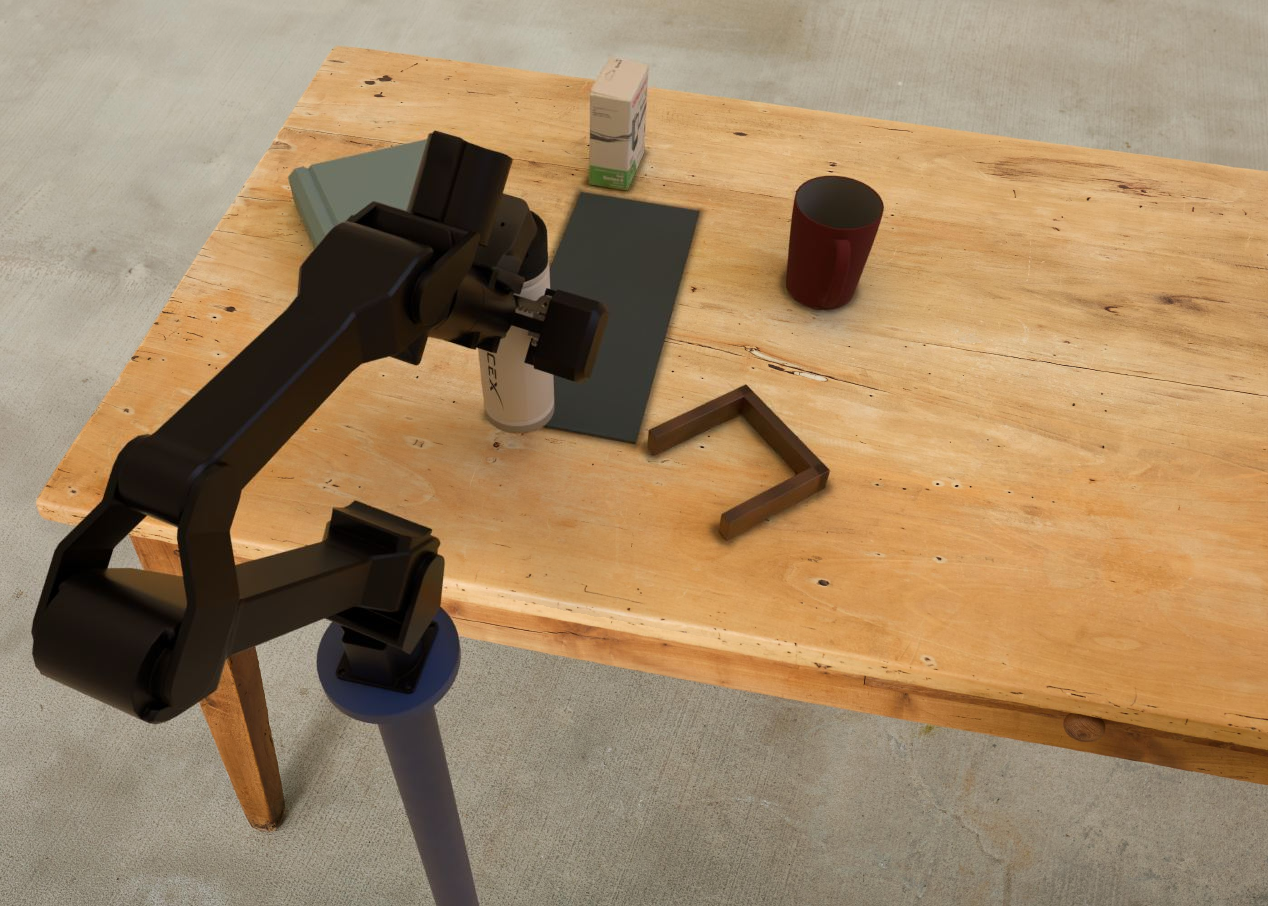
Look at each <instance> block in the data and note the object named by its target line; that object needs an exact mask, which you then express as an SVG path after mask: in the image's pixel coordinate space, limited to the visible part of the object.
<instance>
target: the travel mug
mask: <svg viewBox="0 0 1268 906" xmlns="http://www.w3.org/2000/svg"><path fill="white" fill-rule="evenodd" d="M530 211H531V214H532V216H533V219H534V221H535V224H536V226H537V233H536V235H535V238H534V239H533V240H532V242H531V244H530V246H529V248H528V251H527V253H526V255H525V257H524V260H523V262H522V264H521V266H520V269H519V272H518V275H519V276H521V277H524V278H525V280H524V284H523V287H522V291H521V293H520V294H516V293H514V295H517V296H520V297H523V298H527V299H530V300H533V301H536V300H538V299H539V298H540V297H541V296H543V295H544V294H545V290H546V288H549V289H550V272H549V269H550V257H549V243H548V242H549V241H548V240H549V239H548V238H549V237H548V228H547V225H546V223H545V221H544V220H543V218H542V217H541V216H540V215H538V214H537V213H536V212H535V211H533V210H531V209H530ZM516 313H519V314H522V315H525V316H528V317H532V318H533V314H532V312H531V313H528V310H527V311H526V312H523V309H522V310H521V311H520V310H518V307H517V309H516ZM537 313H539V312H537ZM528 332H529V331H528V330H525V329H521V328H518V327H515V326H511V328H510V329H509V331H508V332H507V334H506V337H505V339H501V340H500V343H499V347H498V350H497V354H496V353H491V352H488V351H485V350H482V349H479V348H477V353H478V363H479V371H480V372H479V373H480V380H481V389H482V390H481V391H482V399H483V410H484V415H485V418H486V420H487V421H488V423H490V425H491V426H492V427H494V428H495V429H497V430H499V431H501V432H504V433H507V434H513V435H523V434H529V433H532V432H536V431H538V430H539V429H542V428H544V427H543V426H544V425H546V424H547V423H548V422H549V421H550V419H551V418H552V416H553V413H554V381H553V375H552V374H549V373H546V372H543V371H540V370H537V369H534V366H533V365H530V364H526V363H524V361H525V357H526V354H527V351H528V347H529V344H530V341H531V337H528V336H527V335H528Z"/></svg>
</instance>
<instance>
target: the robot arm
mask: <svg viewBox="0 0 1268 906" xmlns="http://www.w3.org/2000/svg"><path fill="white" fill-rule="evenodd" d="M426 139H427V141H426V144H425V148H424V151H423V155H422V158H421V162H420V165H419V168H418V172H417V175H416V179H415V182H414V186H413V189H412V193H411V196H410V200H409V203H408V206H407V210H406V211H405V210H402V209H399V208H396V207H392V206H389V205H386V204H382V203H379V202H376V201H372V202H371V203H370V204H368V205H367V206H366V207H364V208H363V209H362V210H360V211H359V212H358V213H357V214H355V215H351V216H350V217H349V218H348V219H347V220H346V221H345V222H341V223H340V224H338V225H336V226H335V227H333V228H332V229H331V230H330V231H329V232H328V233H327V234H326V235H325V237H324V238H323V239H322V240H321V241H320V243H319V244H318V245H317V246H316V247H315V249H314V248H313V250H312V251H311V252H310V253H309V254H308V256H307V257H306V258H305V259H304V261H303V262H302V263H301V264H300V266H299V269H298V280H297V291H296V292H297V293H296V296H295V297H294V299H293V300H292V302H291V303H289V305H288V306H287V308H286V309H285V310H284V311H283V312H282V313H281V314H280V315H278V317H277V318H275V319H274V320H273V321H272V322H271V323H270V324H269V325H268V326H267V327H266V328H264V329H263V330H262V331H261V332H260V333H259V334H258V335H257V336H256V337H255V338H254V339H253V340H251V342H249V343H248V344H247V345H246V346H245V347H244V348H243V349H242V350H241V351H240V352H239V353H238V354H237V355H236V356H234V357H233V358H232V359H231V360H230V361H229V362H228V363H227V364H226V365H224V367H223V368H222V369H220V371H218V373H216V374H215V375H214V376H213V377H212V378H211V379H210V380H209V381H208V382H206V384H205V385H203V387H201V388H200V389H199V390H198V391H197V392H196V393H195V394H194V395H193V396H192V397H191V398H190V399H188V400H187V401H186V402H185V403H184V404H183V405H182V406H181V407H180V408H179V409H178V410H176V411H175V412H174V413H173V415H171V416H170V417H169V418H168V419H167V420H166V421H165V422H164V423H163V424H162V425H161V426H159V427H158V428H157V429H156V430H155V431H154V432H153V433H152V434H149V433H145V434H139V435H137V436H135V437H134V438H132V439H131V440H129V441H128V442H127V443H126V444H125V445H124V446H123V447H122V449H121V450H120V451H119V453H118V454H117V455H116V458H115V460H114V462H113V464H112V467H111V471H110V474H109V476H108V480H107V483H106V487H105V490H104V493H103V496H102V499H101V501H100V502H98V504H97V505H96V506H95V507H94V508H93V509H92V510H91V511H90V512H89V513H88V514H87V515H86V516H85V517H84V518H83V519H82V520H81V521H80V522H78V524H77V525H75V526H74V527H73V528H72V529H71V530H70V531H69V532H68V534H67V535H65V536H64V538H62V539H61V541H60V542H59V543H57V545H56V547H55V549H54V551H53V555H52V558H51V561H50V564H49V567H48V570H47V572H46V573H47V574H46V578H45V579H44V584H43V586H42V590H41V592H40V597H39V598H38V599H39V600H38V603H37V606H36V609H35V611H34V614H33V618H32V624H31V630H30V634H31V637H32V651H31V655H32V660H33V664H34V667H35V668H36V669H37V670H38V671H39V674H40V675H41V676H44V677H45V678H48V679H50V680H53V681H55V682H57V683H59V684H61V685H63V686H65V687H68V688H70V689H72V690H75V691H77V692H79V693H81V694H83V695H86V696H87V697H90V698H92V699H94V700H96V701H99V702H100V703H102V704H105V705H108V706H109V707H112V708H114V709H116V710H118V711H120V712H123V713H124V714H127V715H129V716H131V717H134V718H136V719H138V720H140V721H143V722H145V723H147V724H151V725H160V724H161V725H162V724H165V723H167V722H169V721H171V720H173V719H175V718H176V717H179V716H180V715H181V714H182V715H183V713H185V712H186V711H188V710H189V709H191V708H193V707H194V706H195V705H197V704H198V703H200V702H201V701H203V700H205V699H206V698H208V697H209V696H210V695H212V694H214V693H215V692H216V691H218V688H219V685H220V681H221V679H222V676H223V671H224V668H225V665H226V661H227V659H229V658H231V657H233V656H235V655H237V654H240V653H243V652H245V651H248V650H250V649H252V648H255V647H257V646H260V645H262V644H265V643H267V642H270V641H272V640H275V639H277V638H279V637H283V636H285V635H287V634H289V633H290V634H291V633H292V632H294V631H298V630H300V629H302V628H304V627H306V626H309V625H312V624H315V623H318V622H319V621H321V620H324V619H325V620H327V621H329V622H334V623H337V624H339V625H341V628H342V631H343V634H344V635H343V638H342V642H343V645H344V648H345V651H344V653H343V656H342V658H341V660H340V662H339V665H338V667H337V669H336V672H335V673H336V676H337V678H338V679H340V680H343V681H348V682H353V683H357V684H362V685H367V686H371V687H376V688H381V689H386V690H390V691H395V692H400V693H404V694H412V693H414V692H415V690H416V688H417V685H418V683H419V680H420V677H421V675H422V672H423V670H424V667H425V664H426V662H427V659H428V656H429V654H430V651H431V648H432V646H433V643H434V641H435V638H436V635H437V633H438V630H439V626H438V623H437V622H435V621H432V619H433V618H434V616H435V615H436V613H437V612H438V610H439V608H440V607H442V605H441V604H442V596H443V585H444V577H445V576H444V575H445V568H446V567H445V566H446V560H445V557H444V556H443V555H441V554H440V553H438V552H439V548H440V546H441V540H440V538H438V537H437V536H435V535H432V533H433V529H432V528H430V527H429V526H426V525H423V524H420V523H417V522H414V521H413V520H409V519H406V518H404V517H401V516H398V515H396V514H393V513H390V512H388V511H385V510H382V509H380V508H377V507H376V506H375V507H374V506H372V505H369V504H367V503H364V502H361V501H359V500H357V499H355V500H353V501H352V502H351V503H349V504H347V505H346V506H343V507H337V506H332V510H331V516H330V520H328V521H327V522H326V524H325V528H324V533H323V534H322V539H321V541H319V542H314V543H310V544H307V545H304V546H300V547H297V548H292V549H289V550H286V551H285V550H284V551H282V552H278V553H275V554H271V555H267V556H263V557H259V558H255V559H252V560H249V561H244V562H241V563H237V564H236V562H235V555H234V549H233V543H232V542H233V541H232V536H231V529H232V525H233V522H234V519H235V516H236V513H237V509H238V506H239V504H240V500H241V496H242V492H243V489H245V488H246V487H247V485H248V484H249V483H250V482H251V481H252V480H253V479H254V478H255V477H256V476H257V475H258V474H259V472H260V471H261V470H262V469H263V468H264V467H265V466H266V465H267V464H268V463H269V462H270V460H272V459H273V457H275V455H276V454H277V453H278V452H279V451H280V450H281V449H282V448H283V447H284V446H285V445H286V443H288V441H289V440H290V439H291V438H292V437H293V436H294V435H295V434H296V433H297V432H298V431H299V429H300V428H301V427H302V426H303V425H304V424H305V423H306V422H307V421H308V420H309V419H310V418H311V417H312V415H313V414H314V413H315V412H316V411H317V410H318V409H319V408H320V407H321V406H322V405H323V404H324V403H325V402H326V401H327V399H328V398H329V397H330V396H332V395H333V393H334V392H335V391H336V390H337V389H338V388H339V386H341V384H342V383H343V382H344V381H345V380H346V379H347V378H348V377H349V376H350V375H351V374H352V372H354V371H355V370H357V369H358V368H359V367H360V366H362V365H363V364H368V363H371V362H374V361H379V360H382V359H386V358H392V359H395V360H397V361H401V362H404V363H406V364H409V365H412V366H419V365H420V364H421V362H422V359H423V355H424V353H425V349H426V345H427V343H428V339H429V338H431V339H437V340H442V341H444V342H447V343H451V344H455V345H456V346H457V345H458V346H461V347H462V348H466V349H470V350H477V349H478V348H479V349H482V350H485V351H488V352H491V353H496V354H497V350H498V347H499V343H500V340H501V339H505V337H506V334H507V332H508V331H509V329H510V328H511V326H515V327H518V328H521V329H525V330H528V331H529V332H528V335H527V336H528V337H531V341H530V344H529V347H528V351H527V354H526V357H525V361H524V363H526V364H530V365H533V366H534V369H537V370H540V371H543V372H546V373H549V374H552V375H555V376H558V377H561V378H564V379H568V380H571V381H574V382H580V383H582V382H583V381H585V380H587V379H589V378H590V377H591V374H592V370H593V367H594V364H595V361H596V357H597V354H598V351H599V347H600V344H601V341H602V338H603V334H604V331H605V328H606V324H607V321H608V318H609V315H610V313H609V311H608V309H607V307H606V305H605V304H603V303H601V302H598V301H595V300H592V299H588V298H585V297H582V296H578V295H575V294H572V293H569V292H565V291H562V290H559V289H557V291H555V290H552V289H549V288H546V290H545V294H544V295H543V296H541V297H540V298H539V299H538V300H536V301H533V300H530V299H527V298H523V297H520V296H517V295H514V293H516V294H520V293H521V291H522V287H523V284H524V280H525V278H524V277H521V276H519V275H518V272H519V269H520V266H521V264H522V262H523V260H524V257H525V255H526V253H527V251H528V248H529V246H530V244H531V242H532V240H533V239H534V238H535V235H536V233H537V226H536V224H535V221H534V219H533V216H532V214H531V211H532V210H531V209H530V207H529V204H528V203H527V201H526V200H525V199H523V198H522V197H517V196H514V195H511V194H507V193H504V191H505V188H506V185H507V181H508V178H509V176H510V175H509V174H510V171H511V168H512V164H513V161H514V159H513V158H512V157H511V156H510V155H508V154H506V153H505V152H504V153H503V152H501V151H496V150H493V149H490V148H486V147H483V146H481V145H477V144H475V143H472V142H469V141H467V140H465V139H464V138H462V137H460V136H456V135H452V134H449V133H446V132H442V131H439V130H433V131H432V132H429V133H428V134H427V138H426ZM530 210H531V211H530ZM517 307H518V310H520V311H521V310H522V309H523V312H526V311H527V310H528V313H531V312H532V314H533V318H532V317H528V316H525V315H522V314H519V313H516V309H517ZM537 312H539V313H537ZM146 517H150V518H152V519H155V520H158V521H160V522H161V523H165V524H167V525H169V526H172V527H175V528H177V529H176V530H177V531H176V541H177V549H178V555H179V560H180V567H181V574H182V575H177V574H171V573H164V572H159V571H152V570H148V569H147V570H146V569H140V568H134V567H109V566H110V563H111V559H112V556H113V552H114V550H115V549H116V547H117V546H118V545H119V544H120V543H121V542H122V541H123V540H124V539H125V538H126V537H127V536H128V535H129V534H130V533H131V532H133V530H134V529H136V527H137V526H138V525H139V524H141V523H142V522H143V520H145V519H146ZM431 626H434V627H435V628H434V629H430V627H431ZM342 671H344V672H345V673H344V674H343V675H340V673H341V672H342ZM407 686H412V688H411V689H407Z"/></svg>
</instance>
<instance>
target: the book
mask: <svg viewBox="0 0 1268 906" xmlns="http://www.w3.org/2000/svg"><path fill="white" fill-rule="evenodd" d="M426 141H427V138H426V139H420V140H417V141H412V142H407V143H403V144H399V145H394V146H390V147H385V148H381V149H375V150H371V151H367V152H362V153H358V154H357V153H356V154H354V155H348V156H344V157H340V158H335V159H330V160H327V161H322V162H317V163H313V164H310V165H309V167H305V166H298V167H294V169H293V170H292V171H291V173H290V174H289V175H288V176H287V179H288V183H289V188H290V191H291V195H292V199H293V203H294V205H295V207H296V209H297V212H298V214H299V217H300V219H301V221H302V224H303V225H304V228H305V230H306V232H307V235H308V236H309V239H310V242H311V244H312V246H313V250H314V249H315V247H316V246H317V245H318V244H319V243H320V241H321V240H322V239H323V238H324V237H325V235H326V234H327V233H328V232H329V231H330V230H331V229H332V228H333V227H335V226H336V225H338V224H340V223H341V222H345V221H346V220H347V219H348V218H349V217H350V216H351V215H355V214H357V213H358V212H359V211H360V210H362V209H363V208H364V207H366V206H367V205H368V204H370V203H371V202H372V201H376V202H379V203H382V204H386V205H389V206H392V207H396V208H399V209H402V210H405V211H406V210H407V206H408V203H409V200H410V196H411V193H412V189H413V186H414V182H415V179H416V175H417V172H418V168H419V165H420V162H421V158H422V155H423V151H424V148H425V144H426Z"/></svg>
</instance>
